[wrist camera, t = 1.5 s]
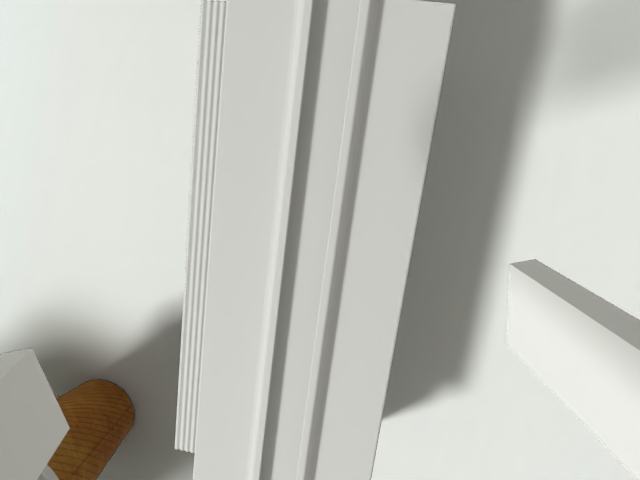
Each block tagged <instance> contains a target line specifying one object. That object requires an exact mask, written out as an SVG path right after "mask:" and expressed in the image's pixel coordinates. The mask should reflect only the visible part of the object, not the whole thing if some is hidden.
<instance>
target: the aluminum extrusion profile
mask: <svg viewBox="0 0 640 480" xmlns="http://www.w3.org/2000/svg"><path fill="white" fill-rule="evenodd" d="M455 10H456V4H452V3H441V2H430V1H420V0H227V2H226V1H218V0H216V1H213V0H201V11H200V28H199V45H198V62H197V79H196V96H195V113H194V130H193V147H192V163H191V180H190V197H189V214H188V231H187V248H186V265H185V282H184V299H183V316H182V332H181V349H180V366H179V383H178V400H177V417H176V434H175V449H180V450H181V451H184V450H185V451H186V452H191V453H195V454H194V468H193V480H371V477H372V471H373V466H374V460H375V454H376V449H377V443H378V438H379V432H380V427H381V421H382V416H383V410H384V404H385V399H386V393H387V388H388V382H389V377H390V371H391V366H392V360H393V354H394V349H395V343H396V338H397V332H398V327H399V321H400V316H401V310H402V304H403V299H404V293H405V288H406V282H407V277H408V271H409V266H410V260H411V254H412V249H413V243H414V238H415V232H416V227H417V221H418V216H419V210H420V204H421V199H422V193H423V188H424V182H425V177H426V171H427V165H428V160H429V154H430V149H431V143H432V138H433V132H434V127H435V121H436V115H437V110H438V104H439V99H440V93H441V88H442V82H443V77H444V71H445V65H446V60H447V54H448V49H449V43H450V38H451V32H452V27H453V21H454V15H455Z"/></svg>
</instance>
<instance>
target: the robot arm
mask: <svg viewBox="0 0 640 480" xmlns="http://www.w3.org/2000/svg"><path fill="white" fill-rule="evenodd" d="M507 346H508V347H509V348H510V349H511V350H512V351H513V352H514V353H515V354H516V355H517V356H518V357H519V359H520V360H521V361H522V362H523V363H524V364H525V365H526V366H527V367H528V368H529V369H530V370H531V371H532V372H533V373H534V374H535V375H536V376H537V377H538V378H539V379H540V380H541V381H542V382H543V383H544V384H545V385H546V386H547V387H548V388H549V389H550V390H551V391H552V392H553V393H554V394H555V395H556V397H557V398H558V399H559V400H560V401H561V402H562V403H563V404H564V405H565V406H566V407H567V408H568V409H569V410H570V411H571V412H572V413H573V414H574V415H575V416H576V417H577V418H578V419H579V420H580V421H581V422H582V423H583V424H584V425H585V426H586V427H587V428H588V429H589V430H590V431H591V432H592V433H593V435H594V436H595V437H596V438H597V439H598V440H599V441H600V442H601V443H602V444H603V445H604V446H605V447H606V448H607V449H608V450H609V451H610V452H611V453H612V454H613V455H614V456H615V457H616V458H617V459H618V460H619V461H620V462H621V463H622V464H623V465H624V466H625V467H626V468H627V469H628V470H629V471H630V473H631V474H632V475H633V476H634V477H635V478H636V479H637V480H640V320H639V319H637V318H635V317H633V316H632V315H630V314H628V313H627V312H625V311H623V310H621V309H620V308H618V307H616V306H615V305H613V304H611V303H609V302H608V301H606V300H604V299H603V298H601V297H599V296H597V295H596V294H594V293H592V292H591V291H589V290H587V289H585V288H584V287H582V286H580V285H579V284H577V283H575V282H573V281H572V280H570V279H568V278H567V277H565V276H563V275H562V274H560V273H558V272H556V271H555V270H553V269H551V268H550V267H548V266H546V265H544V264H543V263H541V262H539V261H538V260H536V259H534V260H528V261H523V262H517V263H511V264H510V268H509V294H508V320H507ZM69 429H70V427H69V425H68V423H67V421H66V419H65V417H64V415H63V412H62V410H61V408H60V406H59V404H58V402H57V400H56V398H55V395H54V393H53V391H52V389H51V387H50V385H49V383H48V381H47V378H46V376H45V374H44V372H43V370H42V368H41V366H40V364H39V361H38V359H37V357H36V355H35V353H34V351H33V349H32V348H30V349H24V350H18V351H13V352H7V353H2V354H1V355H0V480H37V479H38V477H39V476H40V474H41V473H42V471H43V470H44V468H45V466H46V465H47V463H48V462H49V460H50V459H51V457H52V455H53V454H54V452H55V451H56V449H57V448H58V446H59V444H60V443H61V441H62V440H63V438H64V437H65V435H66V433H67V432H68V430H69Z"/></svg>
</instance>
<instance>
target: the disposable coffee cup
mask: <svg viewBox="0 0 640 480" xmlns="http://www.w3.org/2000/svg"><path fill="white" fill-rule="evenodd" d="M56 400H57V402H58V404H59V406H60V408H61V410H62V412H63V415H64V417H65V419H66V421H67V423H68V425H69V427H70V429H69V430H68V432H67V433H66V435H65V437H64V438H63V440H62V441H61V443H60V444H59V446H58V448H57V449H56V451H55V452H54V454H53V455H52V457H51V459H50V460H49V462H48V463H47V465H46V466H45V468H44V470H43V471H42V473H41V474H40V476H39V477H38V479H37V480H96V479H97V478H98V476H99V475H100V473H101V472H102V470H103V469H104V467H105V466H106V464H107V462H109V460H110V458H111V456H112V455H113V454H114V452H115V451H116V449H117V448H118V446H119V445H120V443H121V442H122V440H123V439H124V438H125V436H126V435H127V433H128V432H129V430H130V429H131V427H132V425H133V422H134V408H133V405H132V402H131V400H130V398H129V397H128V395H127V394H126V393H125V392H124V391H123V390H122V389H121V388H120V387H118V386H117V385H115V384H113V383H111V382H108V381H105V380H90V381H87V382H85V383H83V384H81V385H80V386H78V387H76V388H74V389H73V390H71V391H69V392H68V393H66V394H64V395H62V396H61V397H59V398H57V399H56Z"/></svg>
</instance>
